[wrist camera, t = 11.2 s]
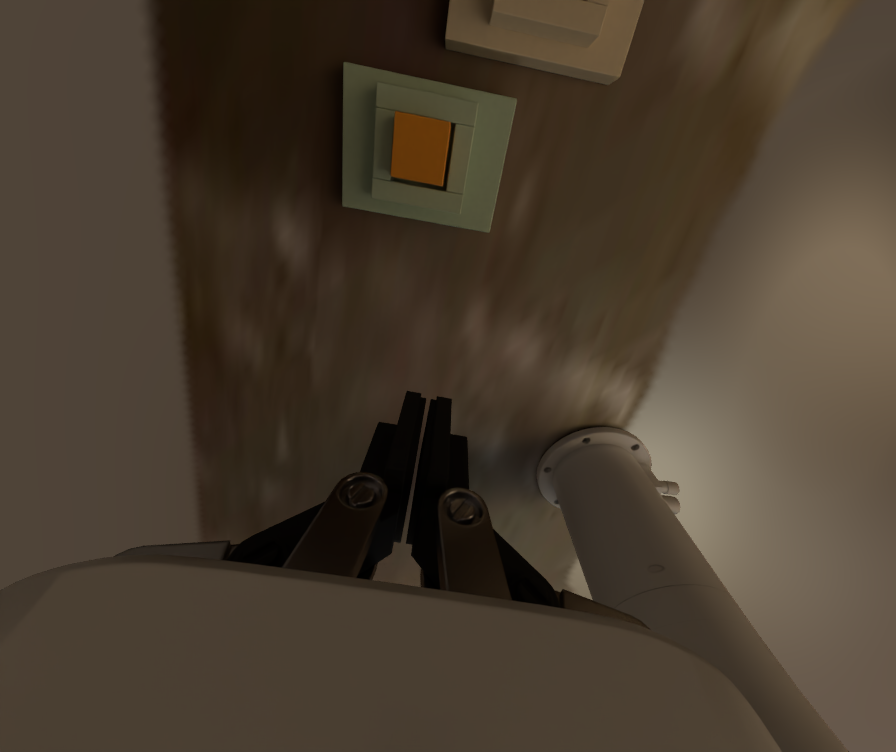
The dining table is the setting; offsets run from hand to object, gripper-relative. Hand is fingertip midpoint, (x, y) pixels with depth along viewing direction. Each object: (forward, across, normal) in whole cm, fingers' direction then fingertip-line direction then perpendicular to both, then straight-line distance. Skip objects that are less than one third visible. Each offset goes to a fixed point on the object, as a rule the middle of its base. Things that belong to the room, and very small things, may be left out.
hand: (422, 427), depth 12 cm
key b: (+16, +3, -10) cm, 19 cm away
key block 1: (+18, +3, -10) cm, 21 cm away
